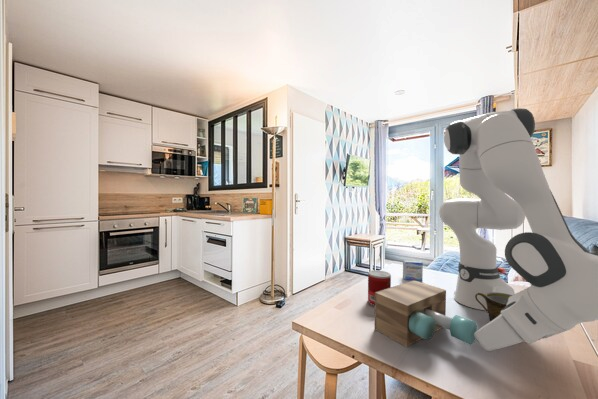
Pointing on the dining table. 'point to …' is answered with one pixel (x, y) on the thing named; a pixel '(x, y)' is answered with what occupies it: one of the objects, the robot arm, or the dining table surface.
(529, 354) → the dining table surface
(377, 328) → the block
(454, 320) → the knob
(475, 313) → the dining table surface
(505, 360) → the dining table surface
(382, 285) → the canned food
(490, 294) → the ceramic cup
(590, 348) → the dining table surface
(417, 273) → the medicine box
